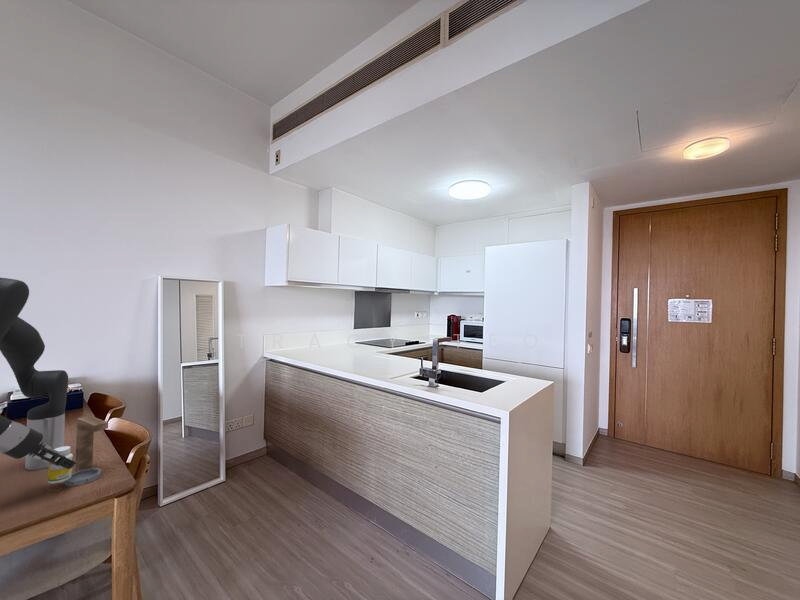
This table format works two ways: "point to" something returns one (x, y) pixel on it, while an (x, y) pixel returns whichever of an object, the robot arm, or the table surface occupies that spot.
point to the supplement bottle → (60, 467)
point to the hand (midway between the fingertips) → (68, 463)
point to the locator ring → (83, 476)
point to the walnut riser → (86, 440)
